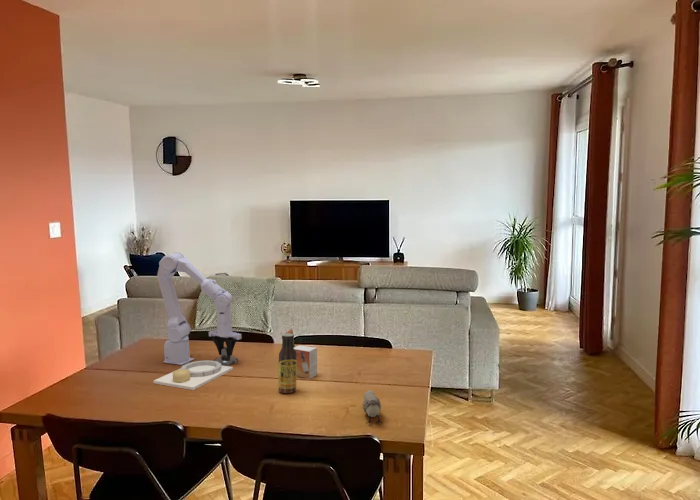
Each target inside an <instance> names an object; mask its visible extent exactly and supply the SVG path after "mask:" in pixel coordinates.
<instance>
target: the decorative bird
mask: <svg viewBox="0 0 700 500" xmlns="http://www.w3.org/2000/svg"><path fill="white" fill-rule="evenodd" d="M363 396H364V397H363V399H364V400H363V403H362V408H363V409H362V410H363V412H365V413H366V414H367V416H368V421H367V422H365V425H367V424H368V425H369V426H370V425H371V424H373V421H371V418H376V416H377V421H376V422H375V425H376V424H377V423H378V425H380V424H381V425H382V424H383V423H382V421H381V419H380V411H381V409H382V404H381V400H380V398H378V396H376V394H375V392H374V391H373V390H371V389H370V390H367V391H365V392H364V395H363Z"/></svg>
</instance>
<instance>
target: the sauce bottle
mask: <svg viewBox="0 0 700 500" xmlns="http://www.w3.org/2000/svg"><path fill="white" fill-rule="evenodd" d="M285 333H286V332H285ZM285 333H283V334H281V340H282V341H281V349H280V351H279V352H278V362H277V363H278V371H277V372H278V375H277V376H278V378H277V379H278V380H277V383H278V384H277V386H278V392H279V393H282V394H291V393H295V392H296V390H297V377H298V376H297V357H296V351H295V349H294V348H293V339H294V338H295V334H294V333H293V334H290V333H286V334H285ZM294 340H295V339H294Z"/></svg>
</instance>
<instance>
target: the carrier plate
mask: <svg viewBox="0 0 700 500" xmlns="http://www.w3.org/2000/svg"><path fill="white" fill-rule="evenodd" d="M233 370H234V366H230V365H229V366H226V365H221V363H219V362H218V361H214V360H210V359H207V360H206V359H205V360H195V361H190V362H187V363H185V364H183V365H181V367H180V368H179V369H175V370H173V371H172V372H170V373H167V374H164V375H162V376H161V377H159V378H156V379H154V380H153V381H152V382H153V384H156V385H161V386H167V387H173V388H179V389H185V390H190V391H191V390H192V391H195V390H197V389H198V388H201V387H202V386H204V385H206V384H208V383H210V382H212V381H215V380H217V379H218V378H220V377H222V376H223V375H225V374H227V373H229V372H231V371H233Z"/></svg>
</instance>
